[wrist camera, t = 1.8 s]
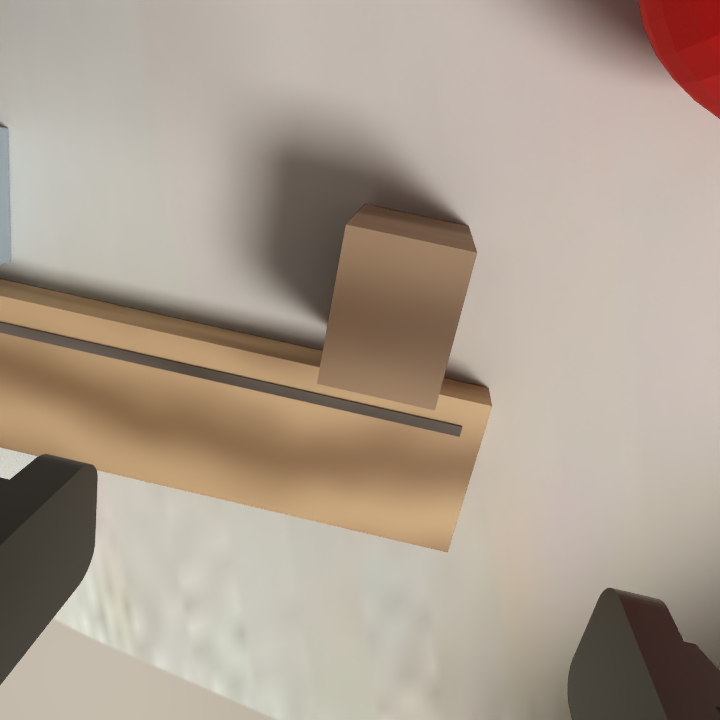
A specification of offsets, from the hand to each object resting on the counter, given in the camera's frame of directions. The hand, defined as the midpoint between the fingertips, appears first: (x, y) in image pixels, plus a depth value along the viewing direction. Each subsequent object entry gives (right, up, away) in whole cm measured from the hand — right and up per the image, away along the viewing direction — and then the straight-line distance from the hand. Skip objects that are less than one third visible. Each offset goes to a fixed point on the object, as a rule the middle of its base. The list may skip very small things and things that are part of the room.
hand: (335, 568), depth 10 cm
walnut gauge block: (+2, +7, +18) cm, 19 cm away
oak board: (-7, +1, +21) cm, 22 cm away
